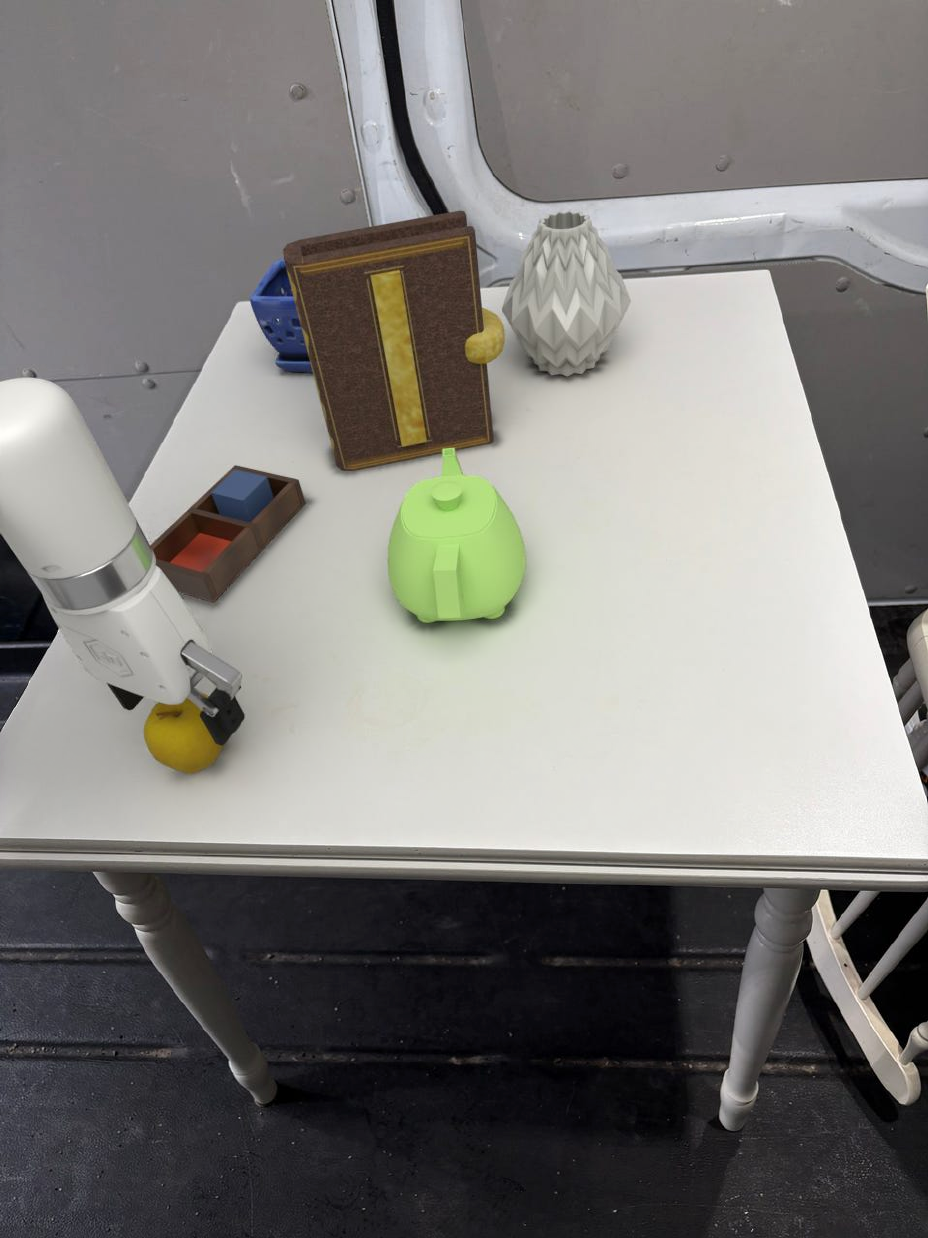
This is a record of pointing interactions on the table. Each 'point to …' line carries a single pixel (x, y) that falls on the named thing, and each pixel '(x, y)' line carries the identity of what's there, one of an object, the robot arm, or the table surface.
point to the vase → (566, 295)
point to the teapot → (455, 548)
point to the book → (397, 338)
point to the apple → (180, 737)
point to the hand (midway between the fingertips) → (184, 713)
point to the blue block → (242, 495)
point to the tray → (222, 539)
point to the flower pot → (280, 319)
